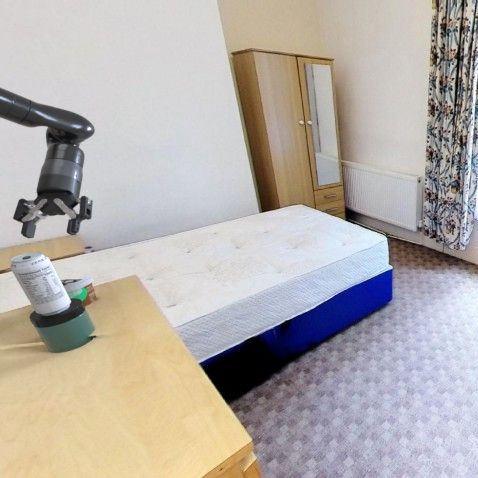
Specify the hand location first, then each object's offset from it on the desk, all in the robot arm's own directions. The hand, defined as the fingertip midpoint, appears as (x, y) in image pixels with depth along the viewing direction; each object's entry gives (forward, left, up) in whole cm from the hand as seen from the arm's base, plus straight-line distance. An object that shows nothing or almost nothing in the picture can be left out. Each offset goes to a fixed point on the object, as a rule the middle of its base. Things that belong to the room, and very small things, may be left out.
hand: (50, 235), depth 81 cm
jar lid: (+1, -8, -17) cm, 19 cm away
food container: (-8, +6, -27) cm, 29 cm away
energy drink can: (+1, -8, -17) cm, 19 cm away
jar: (+1, -8, -27) cm, 28 cm away
